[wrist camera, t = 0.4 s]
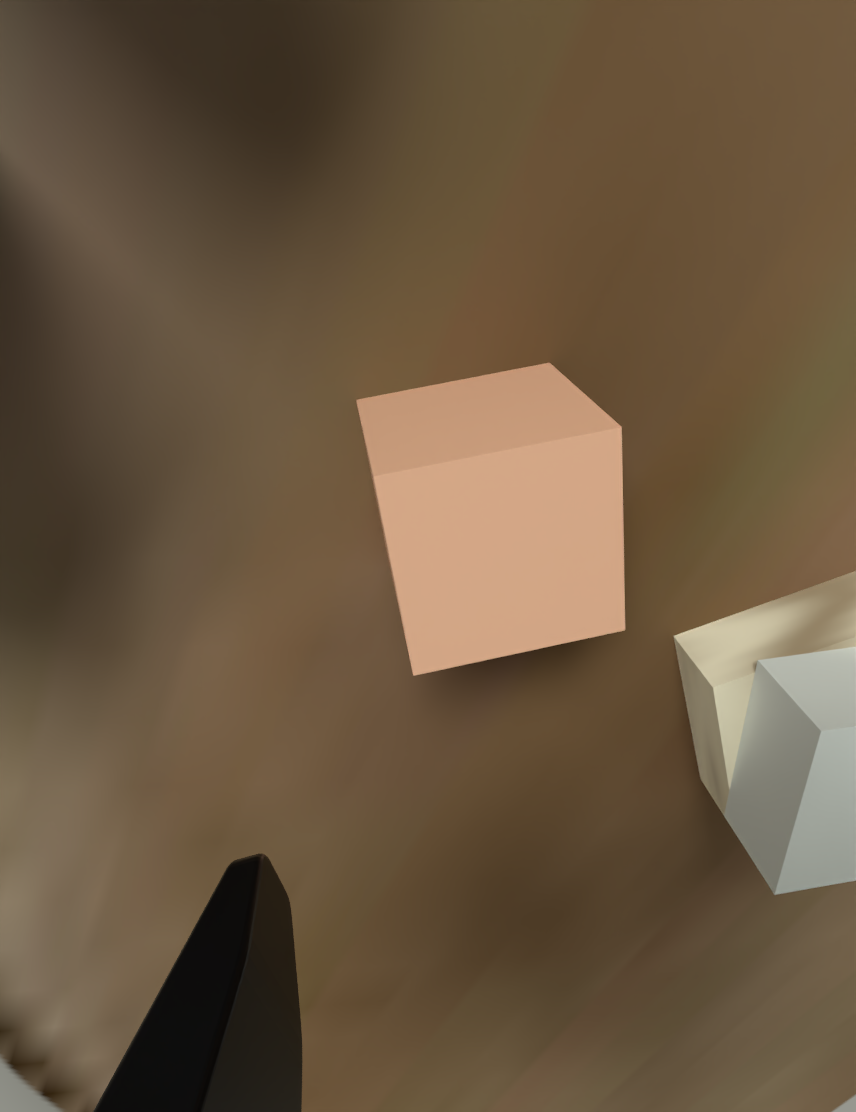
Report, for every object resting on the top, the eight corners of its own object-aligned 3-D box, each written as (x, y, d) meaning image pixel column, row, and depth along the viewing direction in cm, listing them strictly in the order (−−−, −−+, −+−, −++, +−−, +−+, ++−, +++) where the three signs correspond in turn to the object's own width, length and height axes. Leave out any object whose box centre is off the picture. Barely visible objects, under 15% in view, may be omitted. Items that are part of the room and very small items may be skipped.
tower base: (873, 555, 24) (942, 605, 22) (874, 708, 28) (934, 766, 25) (668, 629, 24) (712, 687, 22) (695, 771, 28) (736, 836, 25)
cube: (548, 362, 19) (621, 427, 15) (559, 532, 22) (625, 629, 17) (356, 399, 19) (373, 476, 14) (390, 566, 21) (413, 675, 17)
